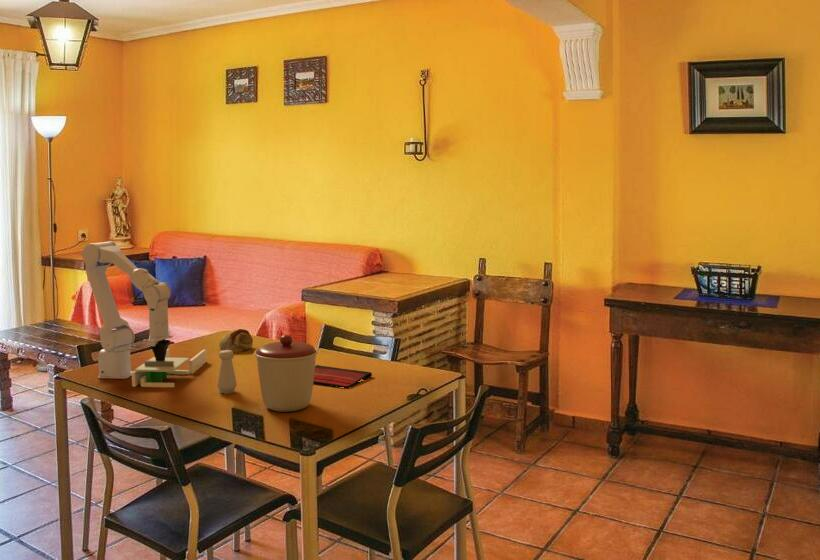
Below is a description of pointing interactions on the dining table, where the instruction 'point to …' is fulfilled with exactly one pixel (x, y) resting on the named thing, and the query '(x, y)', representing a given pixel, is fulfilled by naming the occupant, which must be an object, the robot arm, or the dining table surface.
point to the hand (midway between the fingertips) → (160, 363)
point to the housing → (193, 365)
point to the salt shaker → (226, 373)
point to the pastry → (236, 341)
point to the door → (162, 365)
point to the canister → (286, 374)
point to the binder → (338, 376)
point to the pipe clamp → (155, 376)
